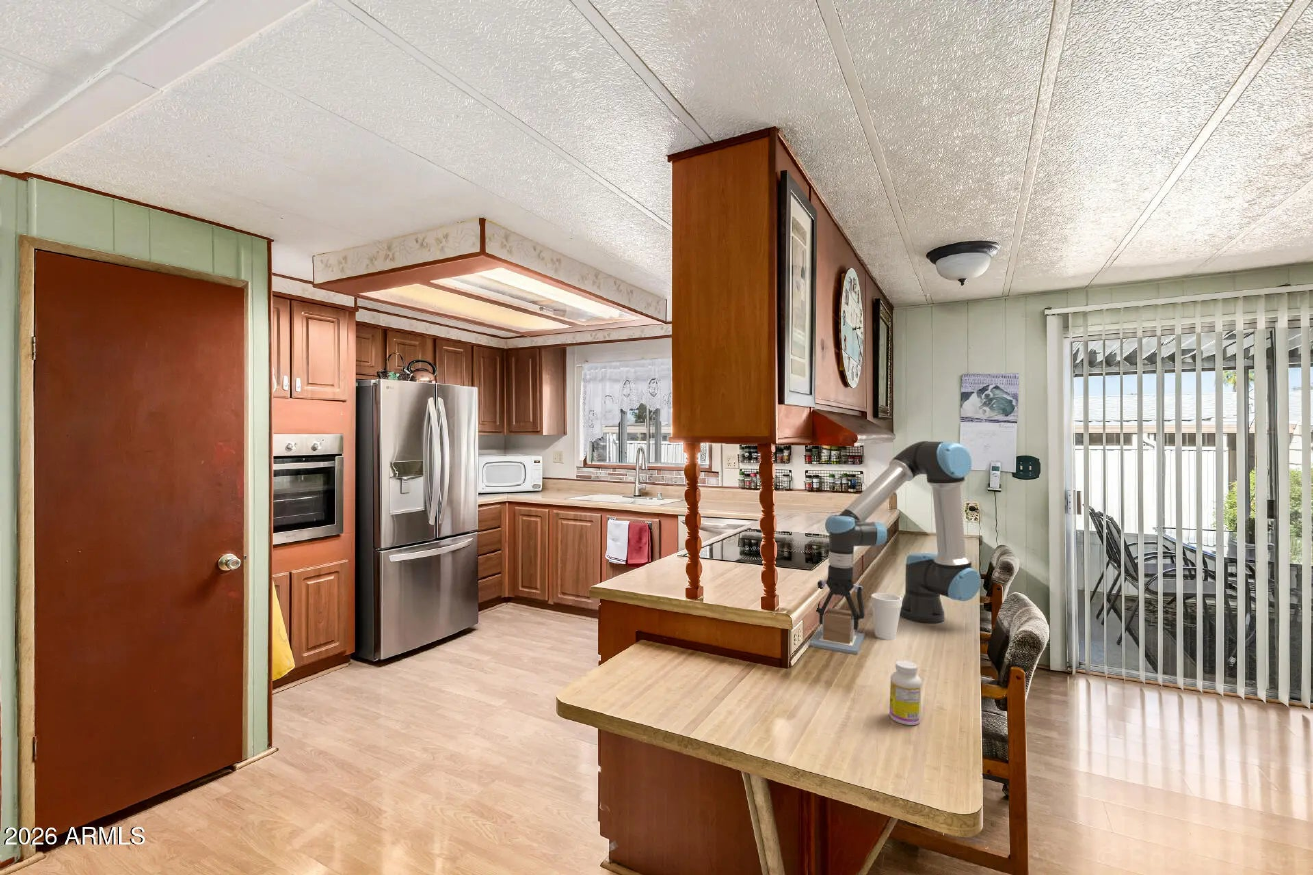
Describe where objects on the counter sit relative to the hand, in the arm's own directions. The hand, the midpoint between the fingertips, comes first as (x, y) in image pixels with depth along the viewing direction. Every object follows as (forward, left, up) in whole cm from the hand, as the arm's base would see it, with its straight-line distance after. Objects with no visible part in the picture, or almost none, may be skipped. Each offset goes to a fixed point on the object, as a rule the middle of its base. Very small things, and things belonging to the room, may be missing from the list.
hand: (838, 636), depth 189 cm
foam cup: (-13, +13, -2) cm, 18 cm away
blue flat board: (0, 0, -1) cm, 1 cm away
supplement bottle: (+46, +22, -2) cm, 51 cm away
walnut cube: (0, 0, 0) cm, 0 cm away
